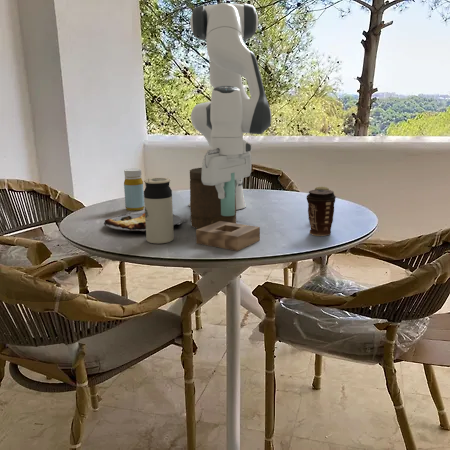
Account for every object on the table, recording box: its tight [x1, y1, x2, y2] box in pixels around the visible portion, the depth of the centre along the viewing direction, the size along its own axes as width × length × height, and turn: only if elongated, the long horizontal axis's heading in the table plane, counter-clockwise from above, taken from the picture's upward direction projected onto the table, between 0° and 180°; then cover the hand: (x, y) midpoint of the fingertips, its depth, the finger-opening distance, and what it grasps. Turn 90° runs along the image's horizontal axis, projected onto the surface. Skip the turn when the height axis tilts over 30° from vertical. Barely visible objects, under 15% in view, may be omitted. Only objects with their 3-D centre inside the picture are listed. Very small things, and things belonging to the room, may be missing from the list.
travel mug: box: [143, 177, 175, 245], centre depth 141 cm, size 8×8×18 cm
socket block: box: [195, 221, 261, 252], centre depth 140 cm, size 14×12×4 cm
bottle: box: [123, 168, 145, 212], centre depth 182 cm, size 7×7×15 cm
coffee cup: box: [306, 189, 337, 237], centre depth 146 cm, size 9×8×13 cm
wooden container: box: [189, 167, 237, 230], centre depth 157 cm, size 15×15×22 cm
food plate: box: [103, 211, 183, 233], centre depth 159 cm, size 25×23×4 cm
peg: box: [221, 173, 235, 216], centre depth 137 cm, size 4×4×12 cm
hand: (227, 196), depth 137 cm, fingers closed on peg, 4 cm apart
